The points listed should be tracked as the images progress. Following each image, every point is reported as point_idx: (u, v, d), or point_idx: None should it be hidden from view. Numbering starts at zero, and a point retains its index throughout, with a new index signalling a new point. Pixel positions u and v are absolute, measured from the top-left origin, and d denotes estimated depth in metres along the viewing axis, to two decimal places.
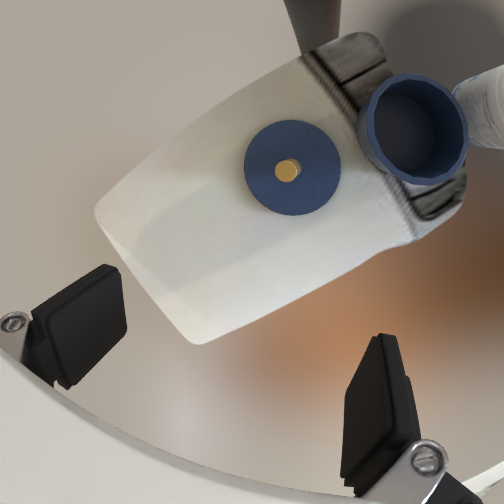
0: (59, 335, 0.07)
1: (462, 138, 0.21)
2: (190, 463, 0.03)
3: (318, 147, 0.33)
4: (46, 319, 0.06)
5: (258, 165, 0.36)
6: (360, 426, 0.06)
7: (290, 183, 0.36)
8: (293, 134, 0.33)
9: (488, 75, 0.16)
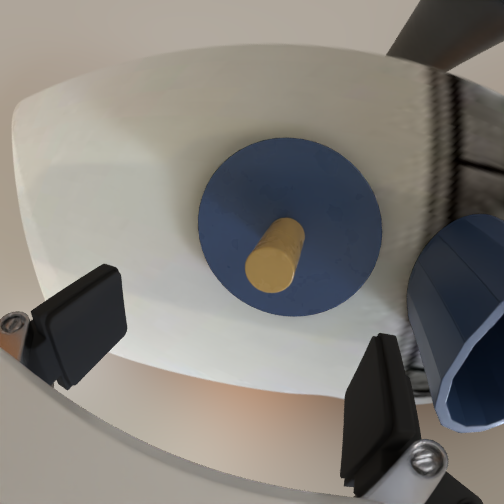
0: (59, 335, 0.07)
1: None
2: (190, 463, 0.03)
3: (354, 234, 0.17)
4: (46, 319, 0.06)
5: (234, 193, 0.18)
6: (360, 426, 0.06)
7: None
8: (329, 183, 0.17)
9: None
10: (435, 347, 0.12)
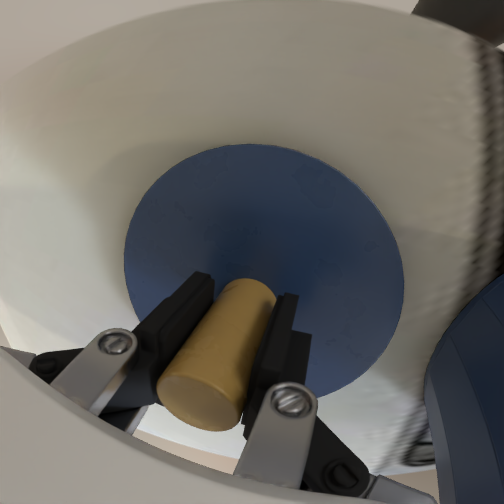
0: (169, 350, 0.07)
1: None
2: (190, 463, 0.03)
3: (358, 305, 0.10)
4: (160, 335, 0.07)
5: (167, 237, 0.11)
6: None
7: None
8: (320, 224, 0.10)
9: None
10: (461, 486, 0.05)
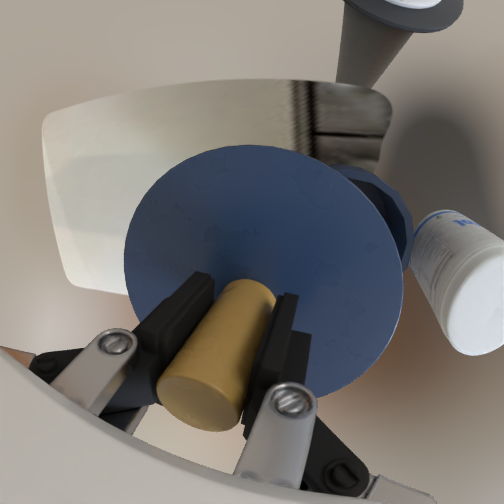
0: (169, 350, 0.07)
1: None
2: (190, 463, 0.03)
3: (357, 306, 0.10)
4: (160, 335, 0.07)
5: (167, 238, 0.11)
6: None
7: None
8: (319, 225, 0.10)
9: (473, 238, 0.18)
10: None
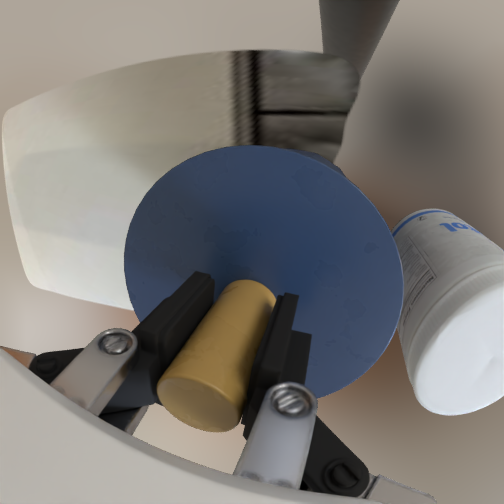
0: (169, 350, 0.07)
1: None
2: (190, 463, 0.03)
3: (358, 307, 0.10)
4: (160, 335, 0.07)
5: (167, 238, 0.11)
6: None
7: None
8: (320, 225, 0.10)
9: (466, 252, 0.12)
10: None
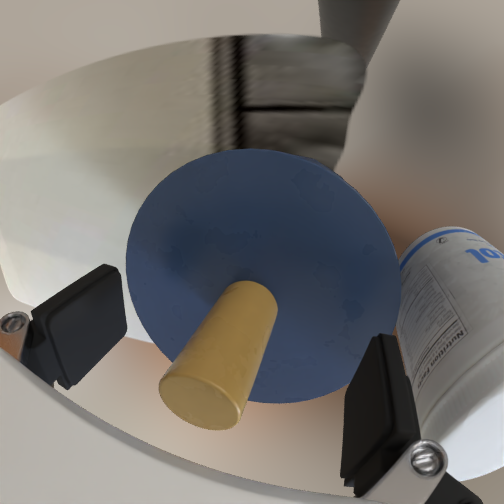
0: (59, 335, 0.07)
1: None
2: (191, 463, 0.03)
3: (356, 307, 0.11)
4: (46, 319, 0.06)
5: (169, 240, 0.12)
6: (360, 426, 0.06)
7: None
8: (319, 228, 0.10)
9: None
10: None
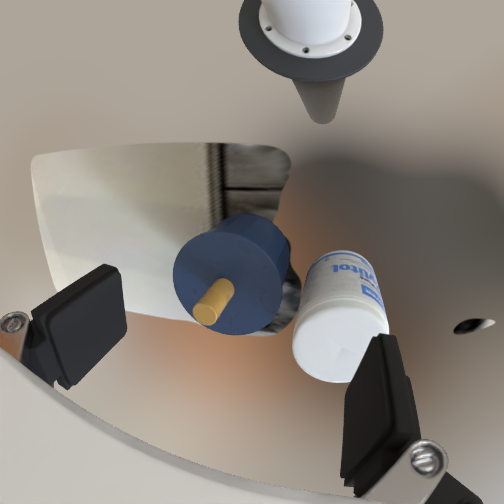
0: (59, 335, 0.07)
1: None
2: (190, 464, 0.03)
3: (263, 289, 0.29)
4: (46, 319, 0.06)
5: (192, 262, 0.30)
6: (360, 426, 0.06)
7: None
8: (246, 259, 0.29)
9: (328, 287, 0.27)
10: None
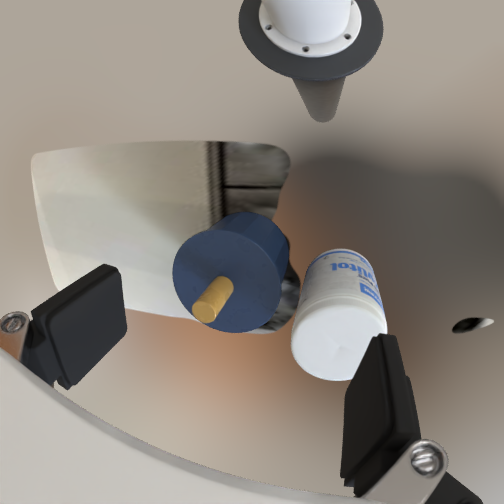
0: (59, 335, 0.07)
1: None
2: (190, 463, 0.03)
3: (262, 287, 0.30)
4: (46, 319, 0.06)
5: (192, 260, 0.31)
6: (360, 426, 0.06)
7: None
8: (245, 257, 0.29)
9: (327, 286, 0.27)
10: None
